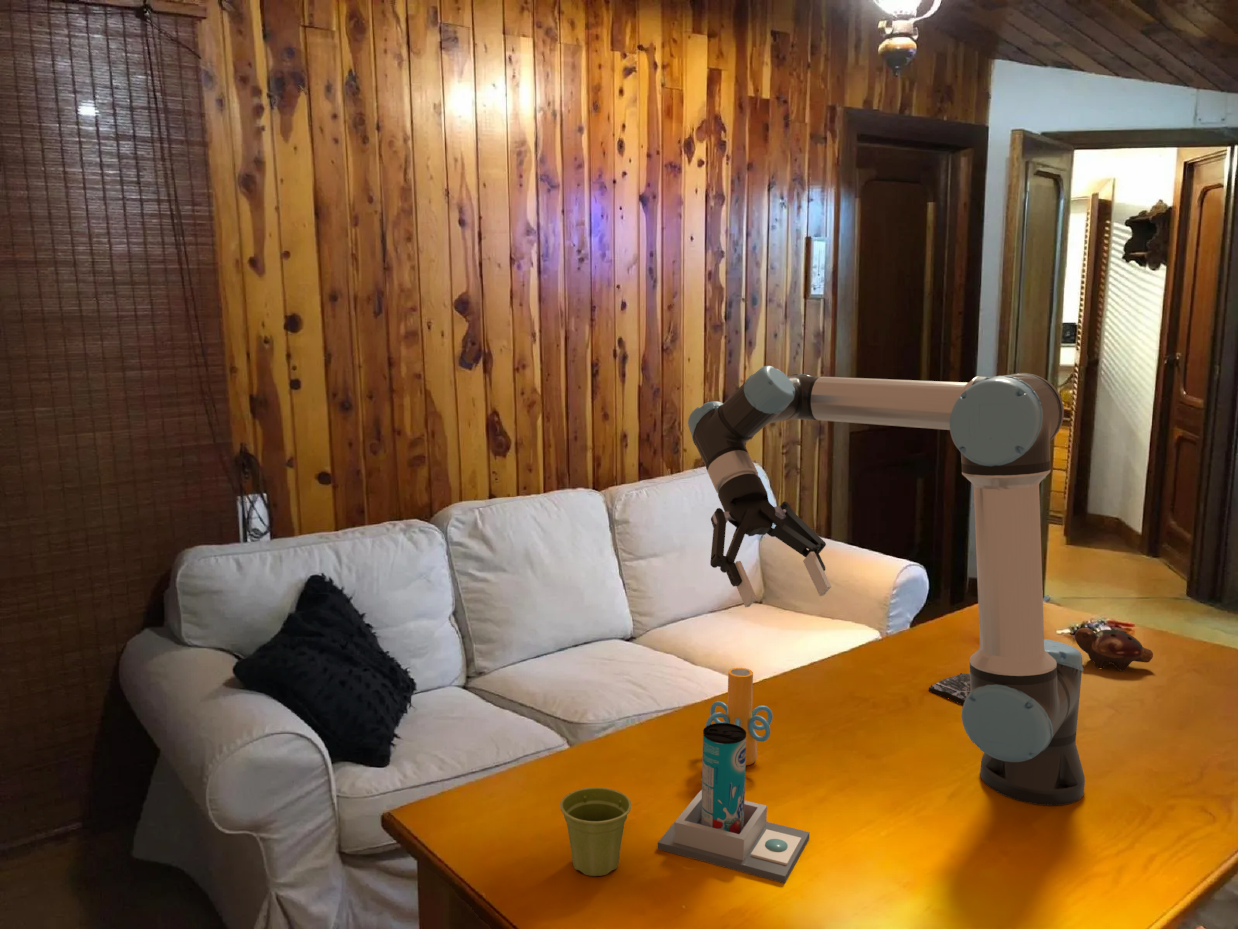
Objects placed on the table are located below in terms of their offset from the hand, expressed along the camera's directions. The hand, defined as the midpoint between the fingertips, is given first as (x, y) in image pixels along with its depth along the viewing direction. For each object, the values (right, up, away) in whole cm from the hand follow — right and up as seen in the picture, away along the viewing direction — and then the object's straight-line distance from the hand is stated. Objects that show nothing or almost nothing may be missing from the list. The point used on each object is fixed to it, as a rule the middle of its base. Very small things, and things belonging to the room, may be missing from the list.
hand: (789, 597), depth 148 cm
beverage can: (-11, -31, -12) cm, 36 cm away
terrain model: (+47, -25, +41) cm, 67 cm away
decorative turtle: (+77, -22, +56) cm, 98 cm away
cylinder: (-6, -29, +12) cm, 32 cm away
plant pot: (-29, -33, -18) cm, 48 cm away
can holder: (-10, -32, -13) cm, 36 cm away
